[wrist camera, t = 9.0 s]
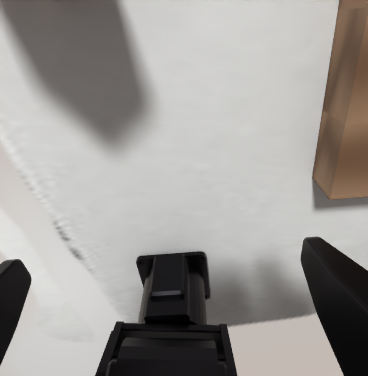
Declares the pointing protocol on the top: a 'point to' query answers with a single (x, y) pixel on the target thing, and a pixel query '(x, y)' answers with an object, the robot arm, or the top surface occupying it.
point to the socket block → (345, 108)
